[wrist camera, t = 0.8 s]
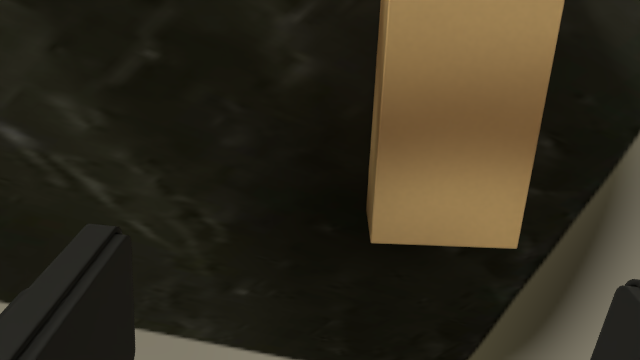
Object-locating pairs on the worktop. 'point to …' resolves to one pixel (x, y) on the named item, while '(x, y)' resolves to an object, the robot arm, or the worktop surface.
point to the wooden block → (457, 118)
